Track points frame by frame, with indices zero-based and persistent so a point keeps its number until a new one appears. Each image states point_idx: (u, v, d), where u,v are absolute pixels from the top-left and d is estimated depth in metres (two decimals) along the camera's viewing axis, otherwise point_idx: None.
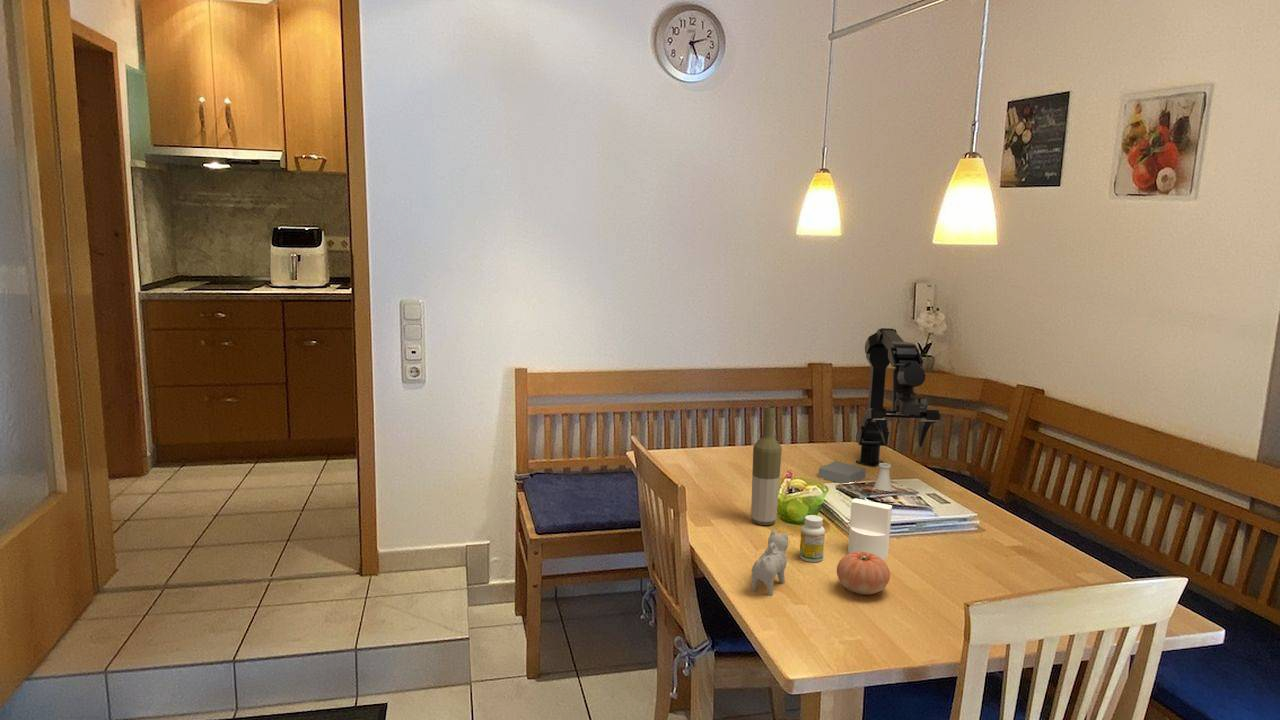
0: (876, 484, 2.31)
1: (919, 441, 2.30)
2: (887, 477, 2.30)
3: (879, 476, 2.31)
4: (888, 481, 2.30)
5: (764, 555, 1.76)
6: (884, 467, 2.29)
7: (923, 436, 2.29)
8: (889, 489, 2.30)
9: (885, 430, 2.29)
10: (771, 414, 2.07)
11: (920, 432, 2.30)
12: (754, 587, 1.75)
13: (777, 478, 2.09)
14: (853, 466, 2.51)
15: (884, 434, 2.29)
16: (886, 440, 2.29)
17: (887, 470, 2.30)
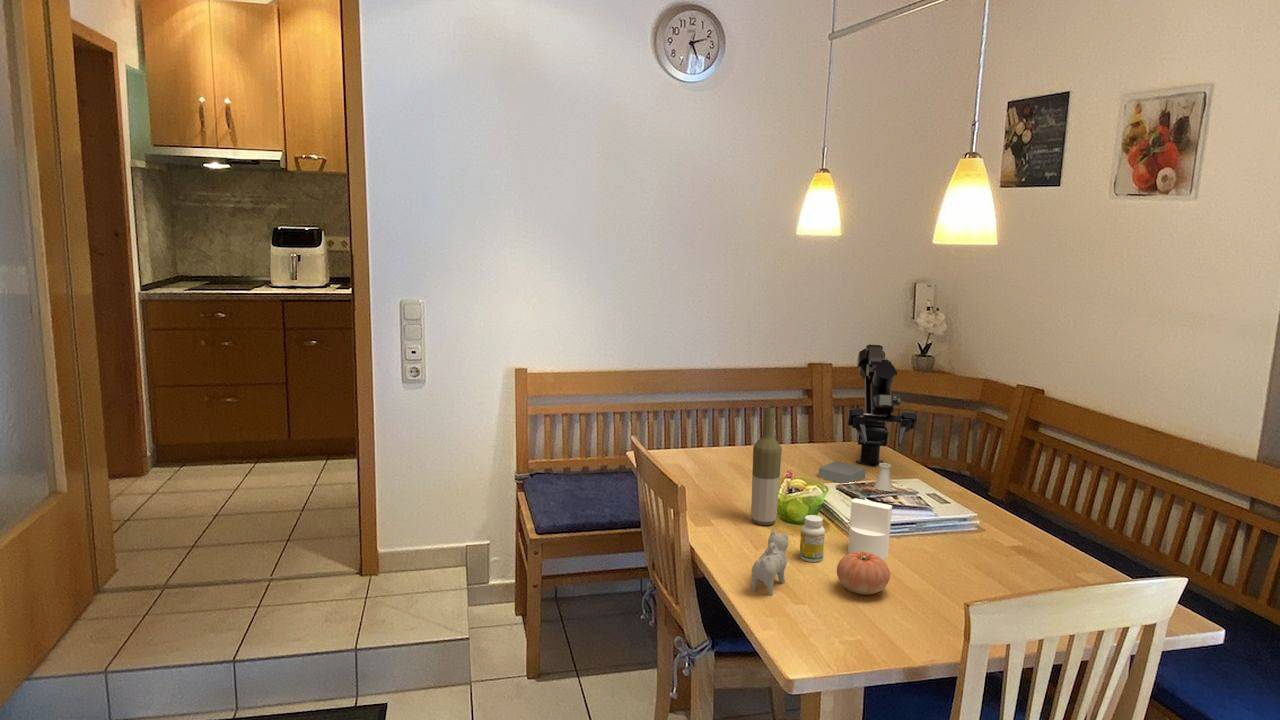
0: (876, 484, 2.31)
1: (898, 441, 2.38)
2: (887, 477, 2.30)
3: (879, 476, 2.31)
4: (888, 481, 2.30)
5: (764, 555, 1.76)
6: (884, 467, 2.29)
7: (901, 435, 2.38)
8: (889, 489, 2.30)
9: (864, 428, 2.40)
10: (771, 414, 2.07)
11: (899, 433, 2.39)
12: (754, 587, 1.75)
13: (777, 478, 2.09)
14: (853, 466, 2.51)
15: (863, 431, 2.39)
16: (865, 437, 2.39)
17: (887, 470, 2.30)
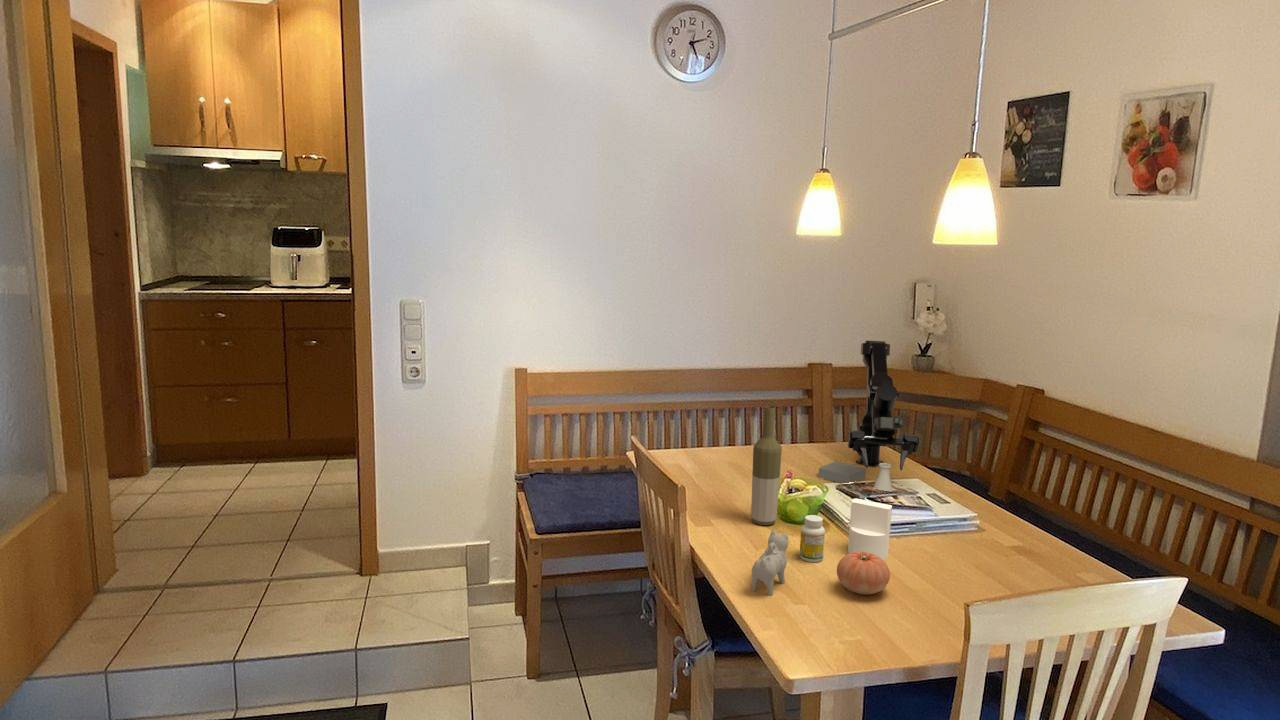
0: (876, 484, 2.31)
1: (900, 464, 2.32)
2: (887, 477, 2.30)
3: (879, 476, 2.31)
4: (888, 481, 2.30)
5: (764, 555, 1.76)
6: (884, 467, 2.29)
7: (903, 458, 2.32)
8: (889, 489, 2.30)
9: (865, 451, 2.34)
10: (771, 414, 2.07)
11: (901, 457, 2.34)
12: (754, 587, 1.75)
13: (777, 478, 2.09)
14: (853, 466, 2.51)
15: (864, 455, 2.34)
16: (866, 460, 2.33)
17: (887, 470, 2.30)
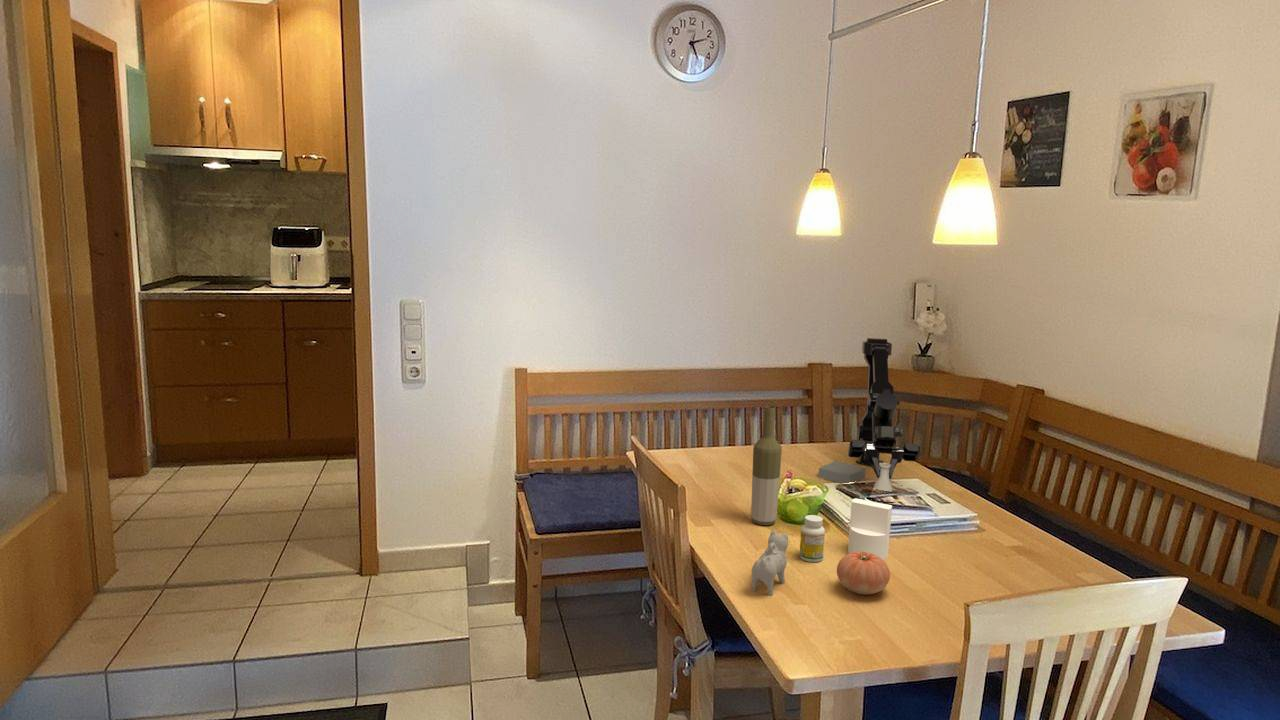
0: (876, 484, 2.31)
1: (889, 473, 2.31)
2: (887, 477, 2.30)
3: (879, 476, 2.31)
4: (888, 481, 2.30)
5: (764, 555, 1.76)
6: (884, 467, 2.29)
7: (892, 467, 2.30)
8: (889, 489, 2.30)
9: (876, 461, 2.32)
10: (771, 414, 2.07)
11: None
12: (754, 587, 1.75)
13: (777, 478, 2.09)
14: (853, 466, 2.51)
15: (875, 465, 2.31)
16: (878, 471, 2.30)
17: (887, 470, 2.30)
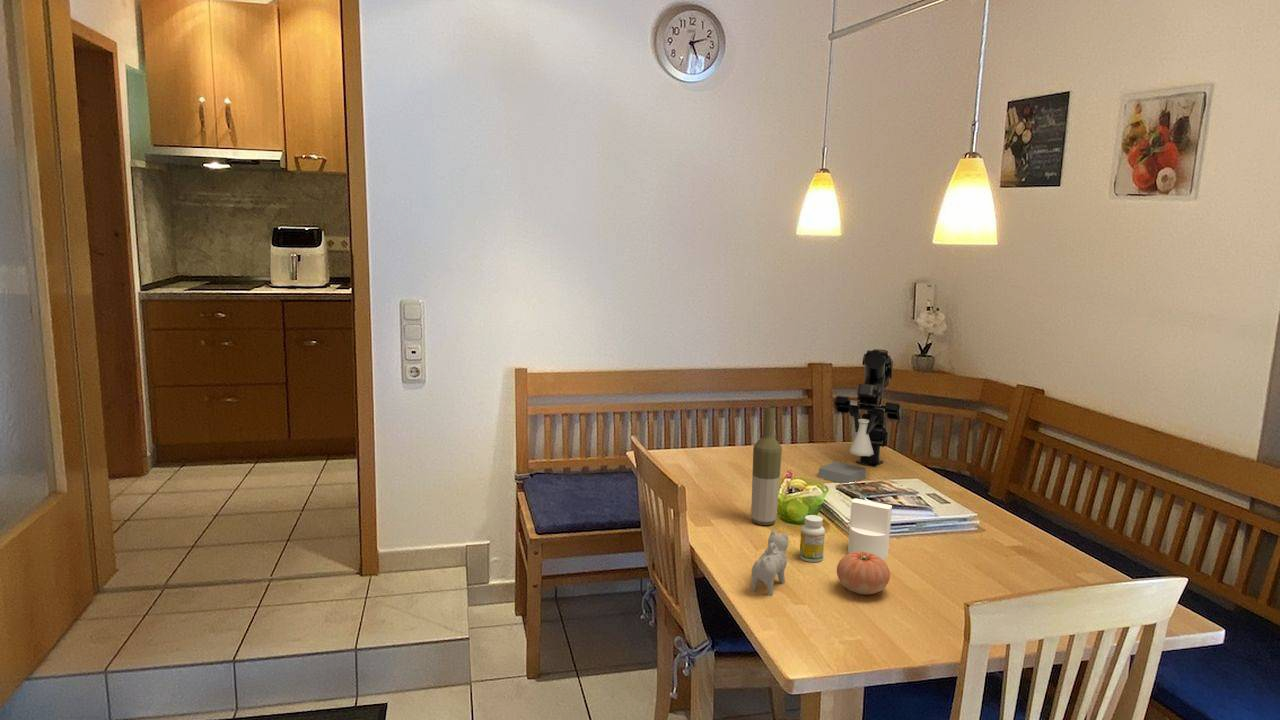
0: (855, 438, 2.45)
1: None
2: (864, 432, 2.43)
3: (857, 431, 2.45)
4: (865, 436, 2.43)
5: (764, 555, 1.76)
6: (861, 422, 2.43)
7: (870, 423, 2.43)
8: (865, 443, 2.43)
9: (856, 416, 2.46)
10: (771, 414, 2.07)
11: None
12: (754, 587, 1.75)
13: (777, 478, 2.09)
14: (853, 466, 2.51)
15: (855, 420, 2.45)
16: (856, 425, 2.44)
17: (864, 425, 2.43)
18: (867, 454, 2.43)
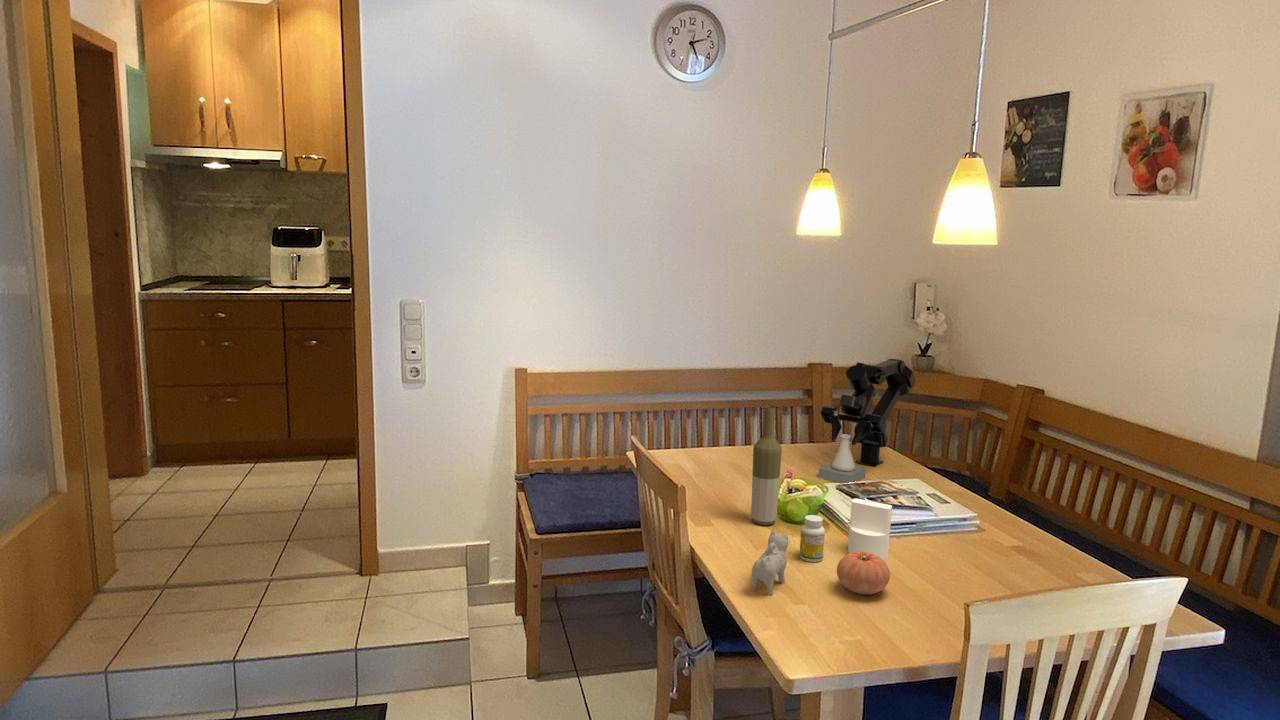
0: (837, 453, 2.49)
1: None
2: (845, 447, 2.47)
3: None
4: (846, 451, 2.47)
5: (764, 555, 1.76)
6: (842, 437, 2.47)
7: (856, 435, 2.45)
8: (846, 458, 2.47)
9: (834, 426, 2.50)
10: (771, 414, 2.07)
11: None
12: (754, 587, 1.75)
13: (777, 478, 2.09)
14: None
15: (832, 429, 2.50)
16: (833, 435, 2.49)
17: (845, 440, 2.47)
18: (847, 469, 2.46)
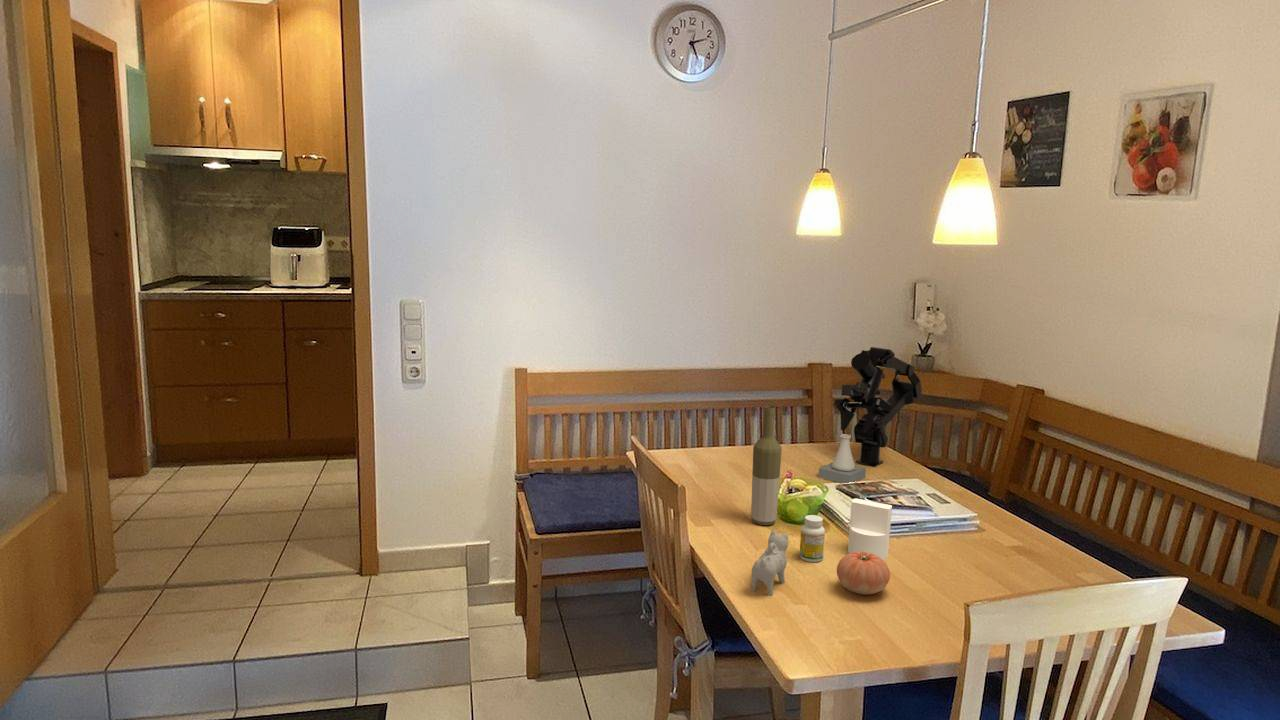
0: (837, 453, 2.49)
1: None
2: (845, 447, 2.47)
3: None
4: (846, 451, 2.47)
5: (764, 555, 1.76)
6: (842, 437, 2.47)
7: (866, 420, 2.50)
8: (846, 458, 2.47)
9: (842, 416, 2.59)
10: (771, 414, 2.07)
11: None
12: (754, 587, 1.75)
13: (777, 478, 2.09)
14: None
15: (841, 419, 2.59)
16: (841, 425, 2.58)
17: (845, 440, 2.47)
18: (847, 469, 2.46)
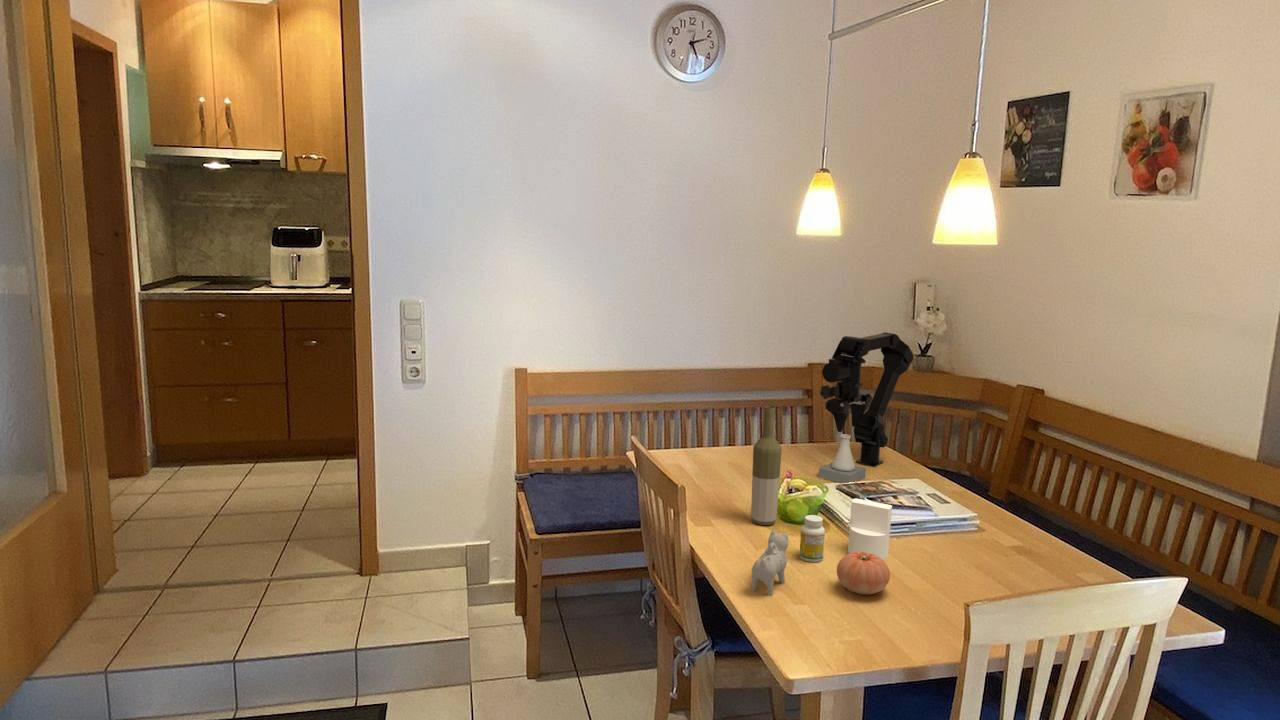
0: (837, 453, 2.49)
1: None
2: (845, 447, 2.47)
3: None
4: (846, 451, 2.47)
5: (764, 555, 1.76)
6: (842, 437, 2.47)
7: None
8: (846, 458, 2.47)
9: None
10: (771, 414, 2.07)
11: None
12: (754, 587, 1.75)
13: (777, 478, 2.09)
14: None
15: None
16: None
17: (845, 440, 2.47)
18: (847, 469, 2.46)
